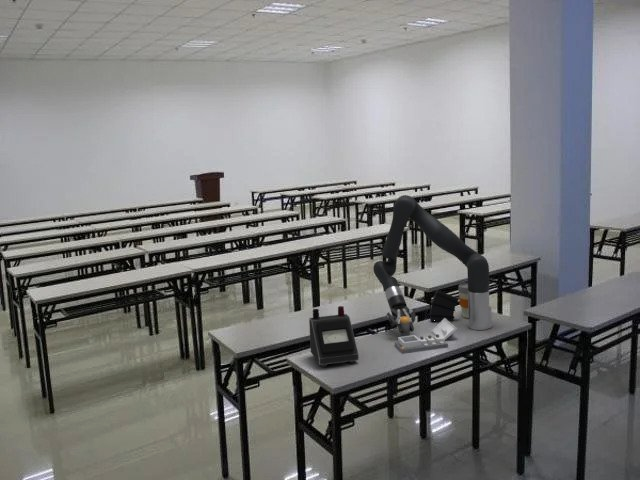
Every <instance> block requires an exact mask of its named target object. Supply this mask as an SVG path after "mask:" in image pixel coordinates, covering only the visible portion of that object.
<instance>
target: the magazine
mask: <svg viewBox="0 0 640 480" xmlns="http://www.w3.org/2000/svg"><path fill="white" fill-rule="evenodd" d="M430 303H431V306H430V312H429V313H428V314H429V320H431V321H434V320H435V321H436V322H435V323H438V322H439V321H442V320H443V319H444V318H446V319H447V320H448V321H449V322H454V319H455V316H454V313H455V312H456V309H455V308H456V306H457V304H459V297H455V296H453V295H451V294H448V293H446V292H444V291H442V290H439V289H436V290H435V291H434V296H433V298H432V300H431V301H430ZM431 321H430V322H431ZM439 323H440V322H439Z"/></svg>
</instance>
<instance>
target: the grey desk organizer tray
mask: <svg viewBox="0 0 640 480" xmlns="http://www.w3.org/2000/svg"><path fill="white" fill-rule="evenodd" d="M394 347H395V348H396V349H397V350H398V351H399V352H400V353H401V354H409V353H415V352H423V351H431V350H438V349H444V348H445V349H446V348H448V347H449V344H448V343H447V342H446V340H443V338H441V337H440V336H439V335H438V334H436V333H435V336H433V337H432V336H431V334H430V335H427V337H424V336H423V335H422V336H420V338H419V337H418V336H416V334H414V335H413V334H412V335H410V336H404V337H401V336H399V337H397V341H396V342H394Z"/></svg>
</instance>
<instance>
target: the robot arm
mask: <svg viewBox="0 0 640 480" xmlns="http://www.w3.org/2000/svg"><path fill="white" fill-rule="evenodd" d="M409 220H411V221H412V222H414V223H415V224H416V225H417V226H418V227H419V228H420V229H421V231H422V232H423V233H424V235H425V236H426V237H427V238H428V239H429V241H431V242H432V244H433V243H434V244H435V246H437V247H438V248H440V249H441V250H443V251H445V252H446V253H448V254H450V255H452V256H453V257H455V258H457V259H458V260H459V261H460V262H461V263H462V264H463V265H464V266H465V267H466V269H467V283H468V308H469V318H468V328H470V329H471V330H475V331H484V330H485V331H486V330H489V329H491V328H492V327H493V325H492V321H493V320H492V319H493V318H492V307H491V306H490V266H489V262H488V260H487V258H486V257H485V256H483V255H482V254H480V253H479V252H478V251H476V250H475V249H473V248H471V247H470V246H469V245H467V244H466V243H465V242H464V241H463V240H462V239H461V237H459V236H458V235H457V234H456V233H454V231H452V230H451V229H450V228H449V227H447V226H446V224H444V223H442V221H440V220H438V219H437V218H436V217H435V216H433V215H432V214H430V213H429V212H428V211H427V210H426V209H424V208H423V207H422V206H421V204H420V203H418V201H417V200H416V199H415V198H413V197H412V196H410V195H408V194H407V195H406V194H405V195H401V196H399V197H398V198H397V200H396V201H395V202H394V204H393V213H392V220H391V224H390V228H389V230H388V233H387V236H386V240H385V241H384V244H383V248H382V251H381V255H382V256H383V257H384V258H385V259H387V261H385V260H382V261H381V260H377V261H376V262H375V263H374V264H373V268H372V269H373V273H374V275H375V277H376V279H377V280H378V282H379V283H380V284H381V286H382V287H383V290H384V294H385V298H386V301H387V303H388V307H389V309H390V312H387V313H386V315H385V317H386V319H387V320H388V321H389V323H390V324H391V325H392V327H395V326H396V327H397V330H398V332H399V333H401V334H402V333H403V332H404V330H403V327H402V325H401V322H400V317H402V316H408V317H409V319H410V333H412V332H414V329H415V327H414V323H415V322H416V308H411V309H410V308H409V307H408V306H407V305H408V304H407V302H406V300H405V299H406V298H405V297H404V294H403V292H402V289H401V287H400V285H399V282H398V280H397V278H396V277H394V275H395V274H396V271H397V259H398V258H397V257H398V253H399V250H400V247H401V244H402V240H403V235H404V231H405V228H406V225H407V223H408V221H409ZM409 314H410V315H409ZM401 334H400V335H401Z"/></svg>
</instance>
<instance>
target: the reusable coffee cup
mask: <svg viewBox="0 0 640 480" xmlns="http://www.w3.org/2000/svg"><path fill="white" fill-rule="evenodd" d="M457 291H458V294H459V296H458V302H459V306H460V307H461V313H462V317H463V318H466V319H469V308H468V282H464V283H463V282H462V283H460V284H458V290H457Z"/></svg>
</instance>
